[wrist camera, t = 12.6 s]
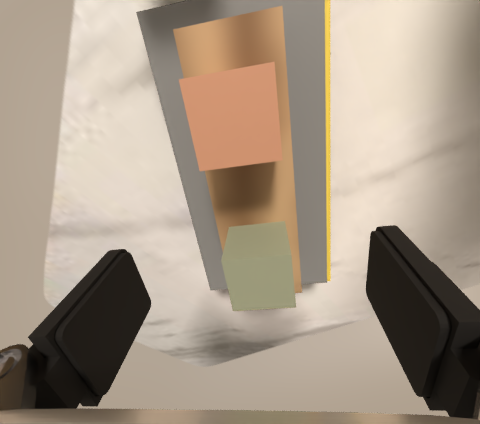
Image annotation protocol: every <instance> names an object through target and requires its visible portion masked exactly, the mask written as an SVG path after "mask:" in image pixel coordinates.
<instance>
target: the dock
mask: <svg viewBox="0 0 480 424" xmlns="http://www.w3.org/2000/svg"><path fill="white" fill-rule="evenodd" d="M278 6H282V7H283V21H284V36H285V51H286V66H287V80H288V95H289V110H290V124H291V139H292V154H293V168H294V183H295V198H296V212H297V227H298V242H299V257H300V271H301V284H311V283H325V282H327V281H330V0H188V1H183V2H179V3H174V4H170V5H166V6H161V7H157V8H153V9H148V10H144V11H140V12H136V13H137V16H138V20H139V24H140V28H141V31H142V35H143V39H144V42H145V46H146V50H147V54H148V57H149V61H150V65H151V69H152V72H153V76H154V80H155V84H156V87H157V91H158V95H159V99H160V102H161V106H162V110H163V114H164V117H165V121H166V125H167V129H168V132H169V136H170V140H171V144H172V147H173V151H174V155H175V159H176V162H177V166H178V170H179V174H180V177H181V181H182V185H183V189H184V192H185V196H186V200H187V204H188V207H189V211H190V215H191V219H192V222H193V226H194V230H195V234H196V237H197V241H198V245H199V248H200V252H201V256H202V260H203V263H204V267H205V271H206V275H207V278H208V282H209V286H210V290H224V289H228V287H227V283H226V279H225V275H224V270H223V266H222V262H221V260H222V255H223V250H222V246H221V242H220V237H219V233H218V228H217V224H216V219H215V215H214V210H213V206H212V201H211V197H210V193H209V188H208V184H207V179H206V175H205V171H200V170H199V166H198V162H197V157H196V153H195V149H194V144H193V140H192V136H191V131H190V127H189V122H188V118H187V114H186V109H185V105H184V101H183V96H182V92H181V88H180V83H179V79H184V77H183V72H182V68H181V63H180V59H179V54H178V50H177V45H176V41H175V36H174V32H173V29H178V28H182V27H187V26H191V25H196V24H200V23H205V22H210V21H214V20H219V19H223V18H228V17H233V16H237V15H242V14H246V13H251V12H255V11H260V10H265V9H269V8H274V7H278Z"/></svg>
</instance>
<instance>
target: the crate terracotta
mask: <svg viewBox="0 0 480 424" xmlns="http://www.w3.org/2000/svg"><path fill="white" fill-rule="evenodd" d="M179 83H180V88H181V92H182V96H183V101H184V105H185V109H186V114H187V118H188V122H189V127H190V131H191V136H192V140H193V144H194V149H195V153H196V157H197V162H198V166H199V170H200V171H207V170H214V169H222V168H229V167H237V166H244V165H252V164H259V163H267V162H274V161H281V160H283V159H282V147H281V135H280V123H279V111H278V99H277V86H276V74H275V62H270V63H264V64H259V65H254V66H248V67H243V68H238V69H232V70H227V71H221V72H216V73H211V74H205V75H200V76H194V77H189V78H184V79H179Z"/></svg>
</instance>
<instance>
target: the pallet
mask: <svg viewBox="0 0 480 424" xmlns="http://www.w3.org/2000/svg"><path fill="white" fill-rule="evenodd" d="M173 32H174V36H175V41H176V45H177V50H178V54H179V59H180V63H181V68H182V72H183V77H184V78H189V77H194V76H200V75H205V74H211V73H216V72H221V71H227V70H232V69H238V68H243V67H248V66H254V65H259V64H264V63H270V62H275V74H276V86H277V99H278V111H279V123H280V135H281V147H282V159H283V160H281V161H274V162H267V163H259V164H252V165H244V166H237V167H229V168H222V169H214V170H207V171H205V175H206V179H207V184H208V188H209V193H210V197H211V201H212V206H213V210H214V215H215V219H216V224H217V228H218V233H219V237H220V242H221V246H222V250H223V251H224V247H225V242H226V238H227V233H228V229H229V227H234V226H243V225H253V224H262V223H271V222H281V221H285V224H286V229H287V235H288V240H289V245H290V250H291V256H292V267H293V278H294V290H295V293H301V292H302V286H301V271H300V257H299V242H298V227H297V212H296V198H295V183H294V168H293V154H292V139H291V124H290V110H289V95H288V80H287V66H286V51H285V36H284V21H283V7H282V6H278V7H274V8H269V9H265V10H260V11H255V12H251V13H246V14H242V15H237V16H233V17H228V18H223V19H219V20H214V21H210V22H205V23H200V24H196V25H191V26H187V27H182V28H178V29H173Z"/></svg>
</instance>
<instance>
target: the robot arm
mask: <svg viewBox="0 0 480 424" xmlns="http://www.w3.org/2000/svg"><path fill="white" fill-rule="evenodd" d="M366 293H367V297H368V299H369V301H370V303H371V305H372V307H373V309H374V311H375V313H376V315H377V317H378V319H379V321H380V323H381V325H382V327H383V329H384V331H385V333H386V336H387V338H388V340H389V342H390V343H391V345H392V348H393V350H394V352H395V354H396V356H397V358H398V360H399V362H400V364H401V365H402V367H403V370H404V372H405V374H406V376H407V378H408V380H409V382H410V384H411V386H412V388H413V390H414V392H415V393H416V395H417V396H419V397H423V398H424V400H425V401H426V404H427V405H428V408H429V409H430V410H445V411H447V412H448V415H449V416H450V417H445V416H433V415H410V414H384V413H358V412H305V411H304V412H303V411H251V410H177V409H174V410H171V409H76V408H77V407H78V405H79V403H81V405H82V406H98V404H99V402H100V400H101V398H102V396H103V395H105V394H106V393H107V392H108V390H109V389H110V387H111V385H112V383H113V381H114V379H115V377H116V375H117V373H118V371H119V369H120V367H121V365H122V363H123V361H124V359H125V357H126V355H127V353H128V351H129V349H130V347H131V345H132V343H133V341H134V339H135V337H136V335H137V333H138V332H139V330H140V328H141V326H142V324H143V322H144V320H145V318H146V316H147V314H148V312H149V310H150V307H151V300H150V297H149V295H148V292H147V290H146V288H145V285H144V283H143V281H142V278H141V276H140V274H139V271H138V269H137V267H136V264H135V262H134V260H133V257H132V255H131V254H130V253H129V252H127V251H126V250H125V249H119V250H110V251H108V252H107V253H106V254H105V255H104V256H103V257H102V259H101V260H100V261H99V262H98V263H97V264H96V265H95V266H94V267H93V268H92V269H91V270H90V271H89V272H88V274H87V275H86V276H85V277H84V278H83V279H82V280H81V281H80V282H79V283H78V284H77V285H76V286H75V287H74V288H73V290H72V291H71V292H70V293H69V294H68V295H67V296H66V297H65V298H64V299H63V300H62V301H61V302H60V303H59V305H58V306H57V307H56V308H55V309H54V310H53V311H52V312H51V313H50V314H49V315H48V316H47V317H46V318H45V319H44V321H43V322H42V323H41V324H40V325H39V326H38V327H37V328H36V329H35V330H34V331H33V333H32V334H31V335H30V336H29V337H28V338H29V339H30V340H31V342H32V343H33V345H32V346H31V347H30V348H29V349H28V347H26V346H25V345H23V344H17V345H12V346H9V347H7V348H5V349H2V350H0V424H480V310H479V309H478V308H477V307H476V306H475V305H474V304H473V303H472V302H471V301H470V300H469V299H468V297H467V296H465V294H464V293H463V292H462V291H461V290H460V289H459V288H458V287H457V286H456V285H455V284H454V283H453V282H452V281H451V280H450V279H449V278H448V277H447V276H446V275H445V274H444V273H443V272H442V271H441V269H440V268H439V267H438V266H437V265H436V264H434V263H433V262H431V261H430V260H429V259H428V258H427V257H426V256H425V255H424V254H423V253H422V252H421V251H420V250H419V249H418V248H417V247H416V245H415V244H414V243H413V242H412V241H411V240H410V239H409V238H408V237H407V236H406V235H405V234H404V233H403V232H402V231H401V230H400V229H399V228H398V227H397V226H395V225H393V226H382V227H377V228H376V231H372V232H371V236H370V247H369V259H368V270H367V281H366Z"/></svg>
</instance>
